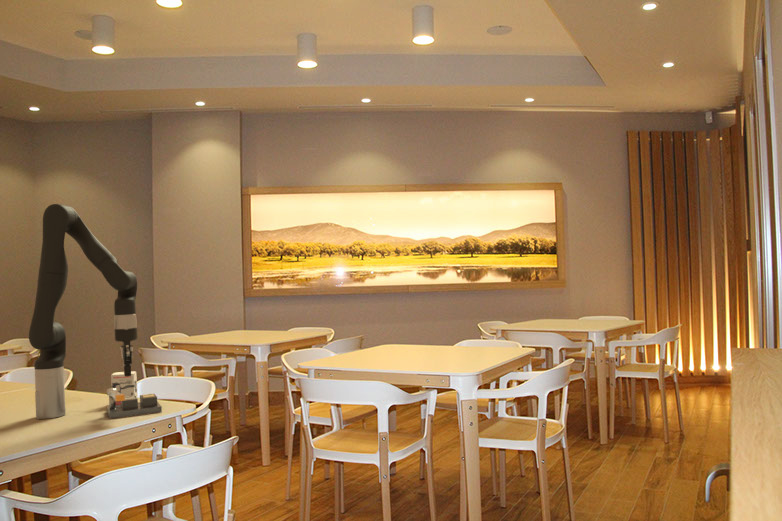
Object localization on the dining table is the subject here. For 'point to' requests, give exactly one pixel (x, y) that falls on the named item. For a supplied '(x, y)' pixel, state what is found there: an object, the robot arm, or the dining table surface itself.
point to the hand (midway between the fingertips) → (127, 375)
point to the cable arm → (115, 394)
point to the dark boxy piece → (134, 406)
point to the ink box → (124, 384)
